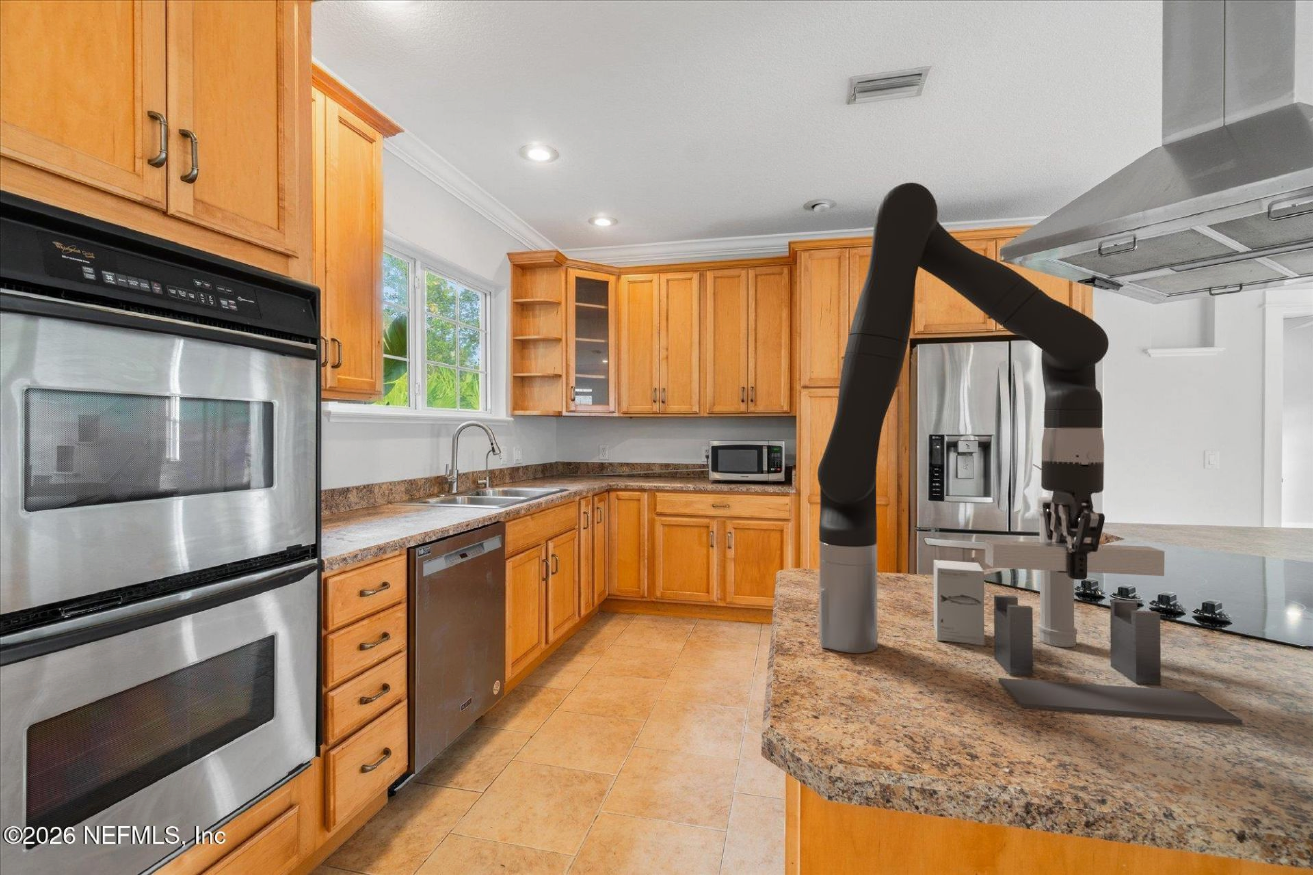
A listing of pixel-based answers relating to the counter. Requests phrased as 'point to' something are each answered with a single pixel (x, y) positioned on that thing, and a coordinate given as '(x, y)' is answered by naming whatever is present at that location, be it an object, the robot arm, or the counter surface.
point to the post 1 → (1013, 636)
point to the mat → (1117, 700)
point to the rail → (1056, 557)
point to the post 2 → (1135, 642)
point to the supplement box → (959, 602)
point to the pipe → (1055, 599)
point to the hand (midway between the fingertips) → (1070, 574)
